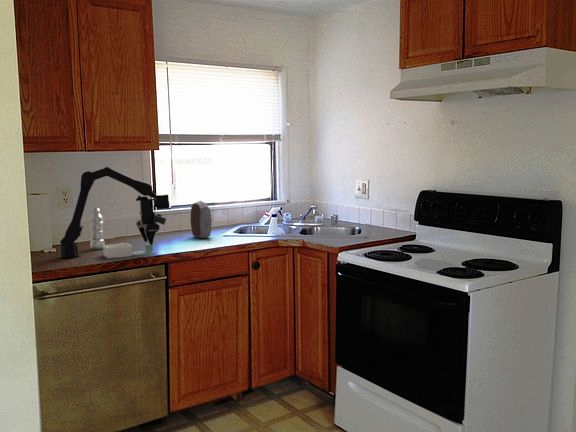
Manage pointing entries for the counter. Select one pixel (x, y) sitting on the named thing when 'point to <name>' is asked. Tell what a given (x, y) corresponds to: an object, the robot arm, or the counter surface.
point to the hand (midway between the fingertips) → (148, 243)
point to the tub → (117, 250)
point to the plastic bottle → (96, 229)
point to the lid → (147, 250)
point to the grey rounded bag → (200, 220)
